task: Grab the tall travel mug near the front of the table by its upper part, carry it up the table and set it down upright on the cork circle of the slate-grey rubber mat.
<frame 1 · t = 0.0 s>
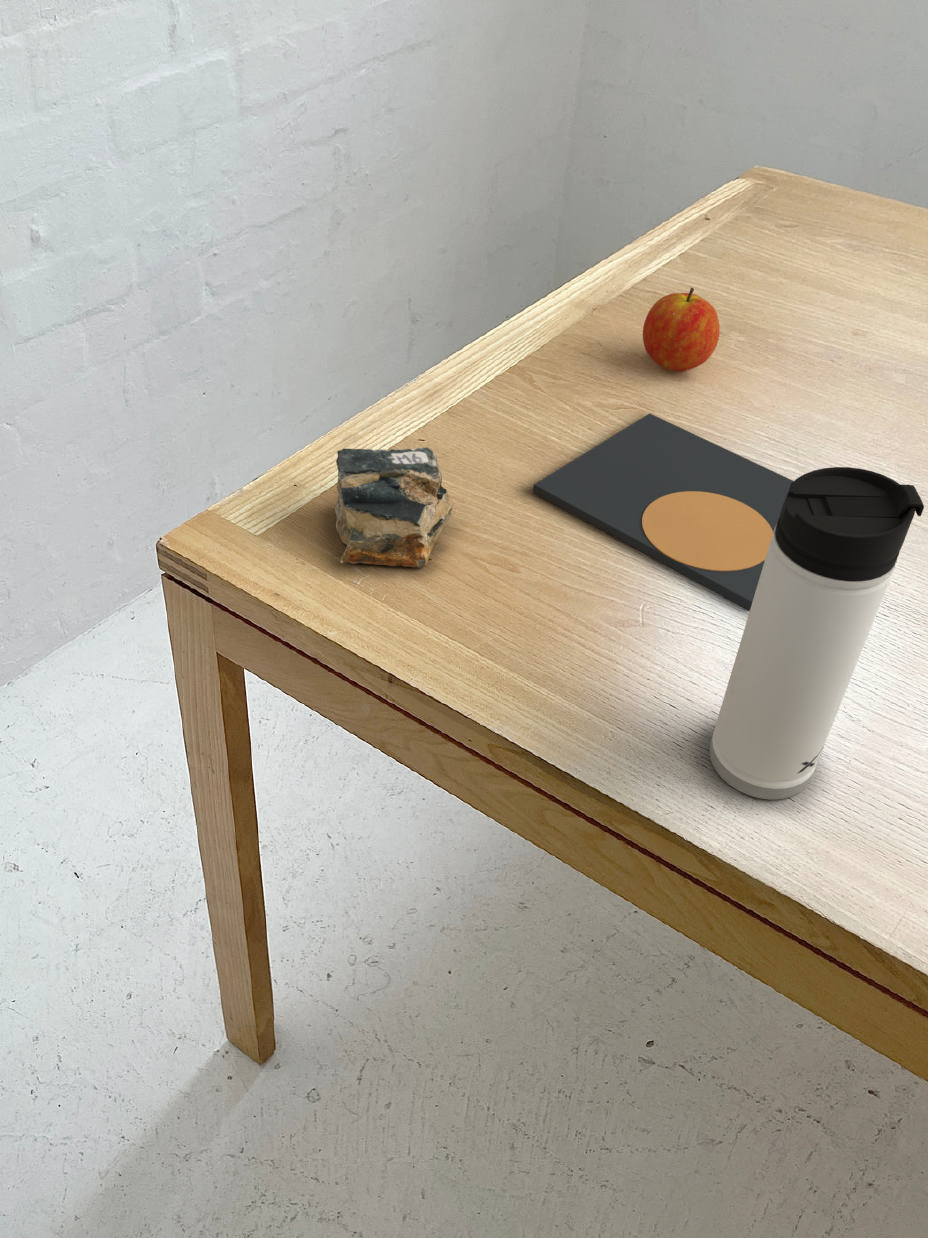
travel mug: (761, 764, 69), on the table
rock: (389, 535, 84), on the table
fruit: (673, 368, 107), on the table
mat: (694, 506, 89), on the table
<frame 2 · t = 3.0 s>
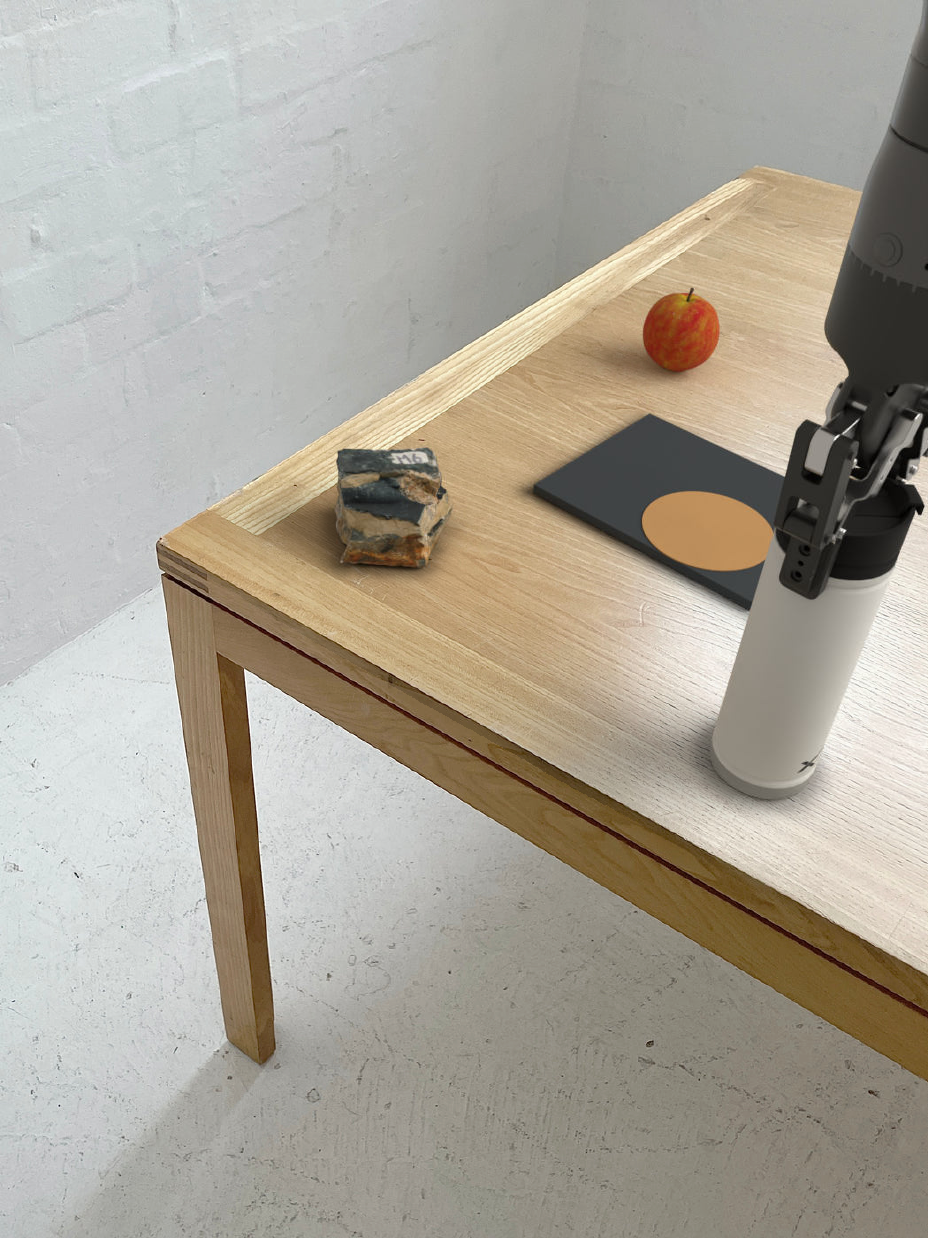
hand: (832, 559, 59), 16 cm above the table, tool pointing down, fingers closed on travel mug, 6 cm apart
travel mug: (761, 764, 69), on the table, touching gripper
everything else where it was.
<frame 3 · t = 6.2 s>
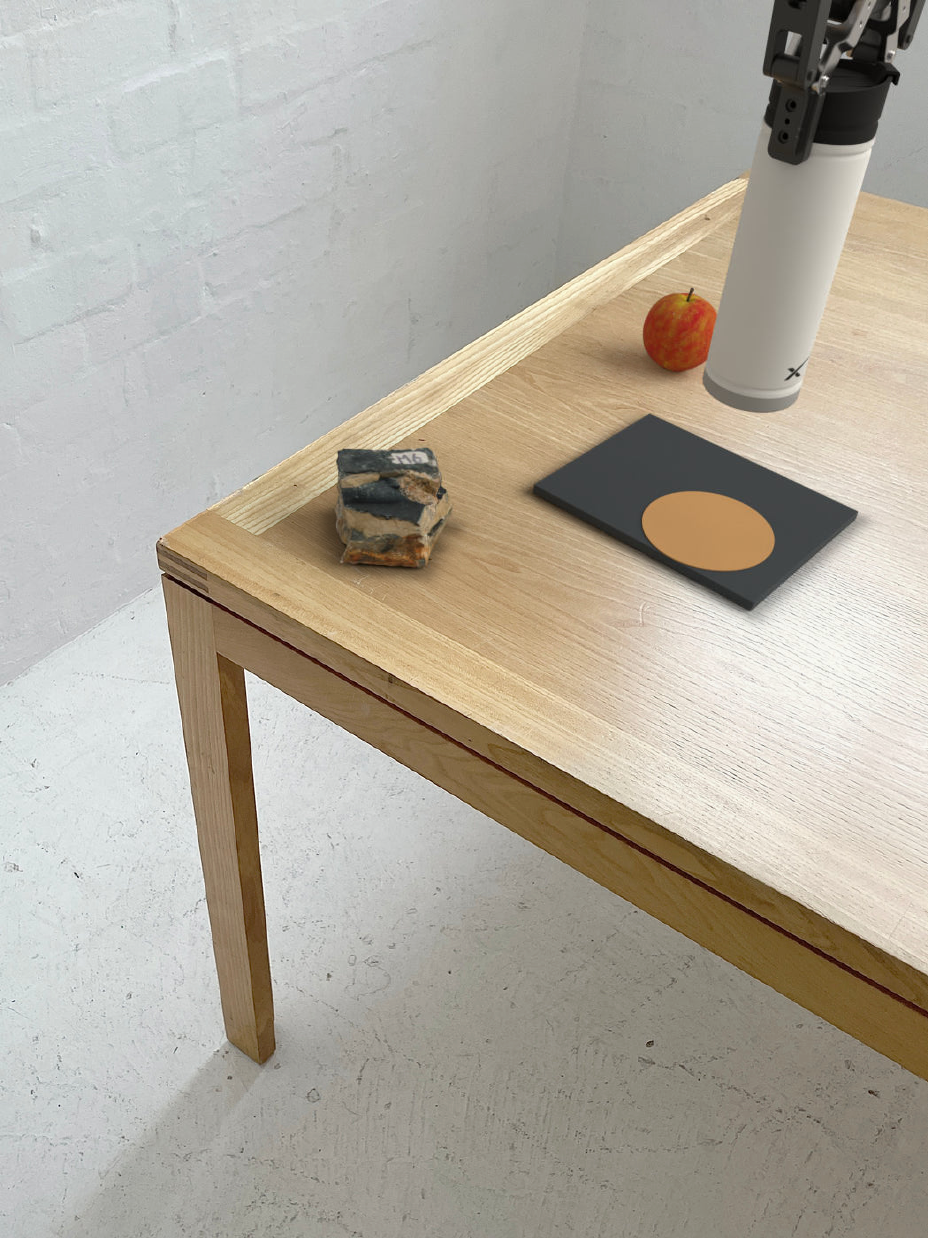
hand: (816, 145, 64), 30 cm above the table, tool pointing down, fingers closed on travel mug, 6 cm apart
travel mug: (751, 392, 74), point 14 cm above the table, touching gripper
everything else where it was.
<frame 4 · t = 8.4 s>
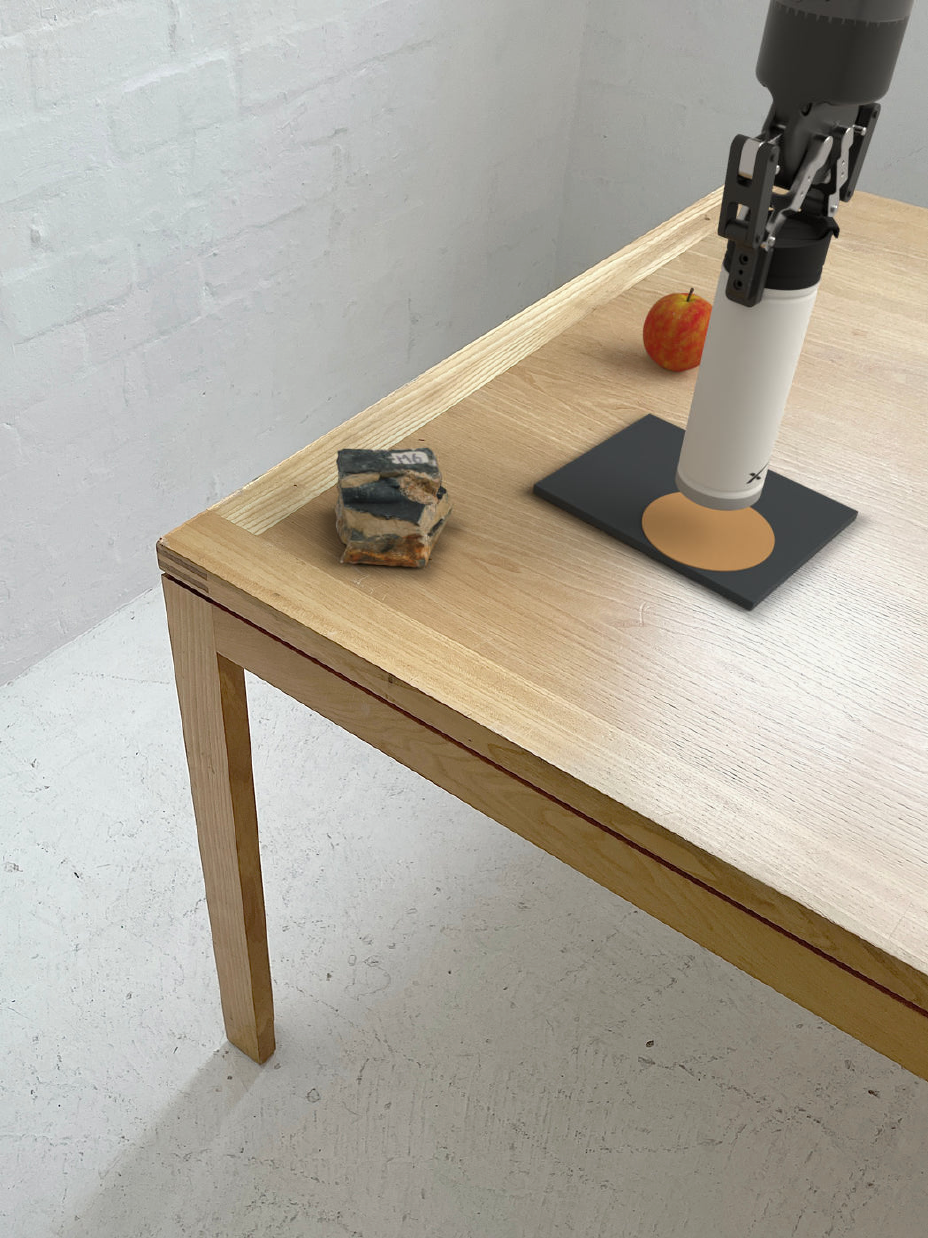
hand: (769, 285, 73), 20 cm above the table, tool pointing down, fingers closed on travel mug, 6 cm apart
travel mug: (718, 490, 83), point 5 cm above the table, touching gripper
everything else where it was.
when the fingers open (17 cm above the table, at t = 10.0 s): travel mug stays where it is, resting on mat.
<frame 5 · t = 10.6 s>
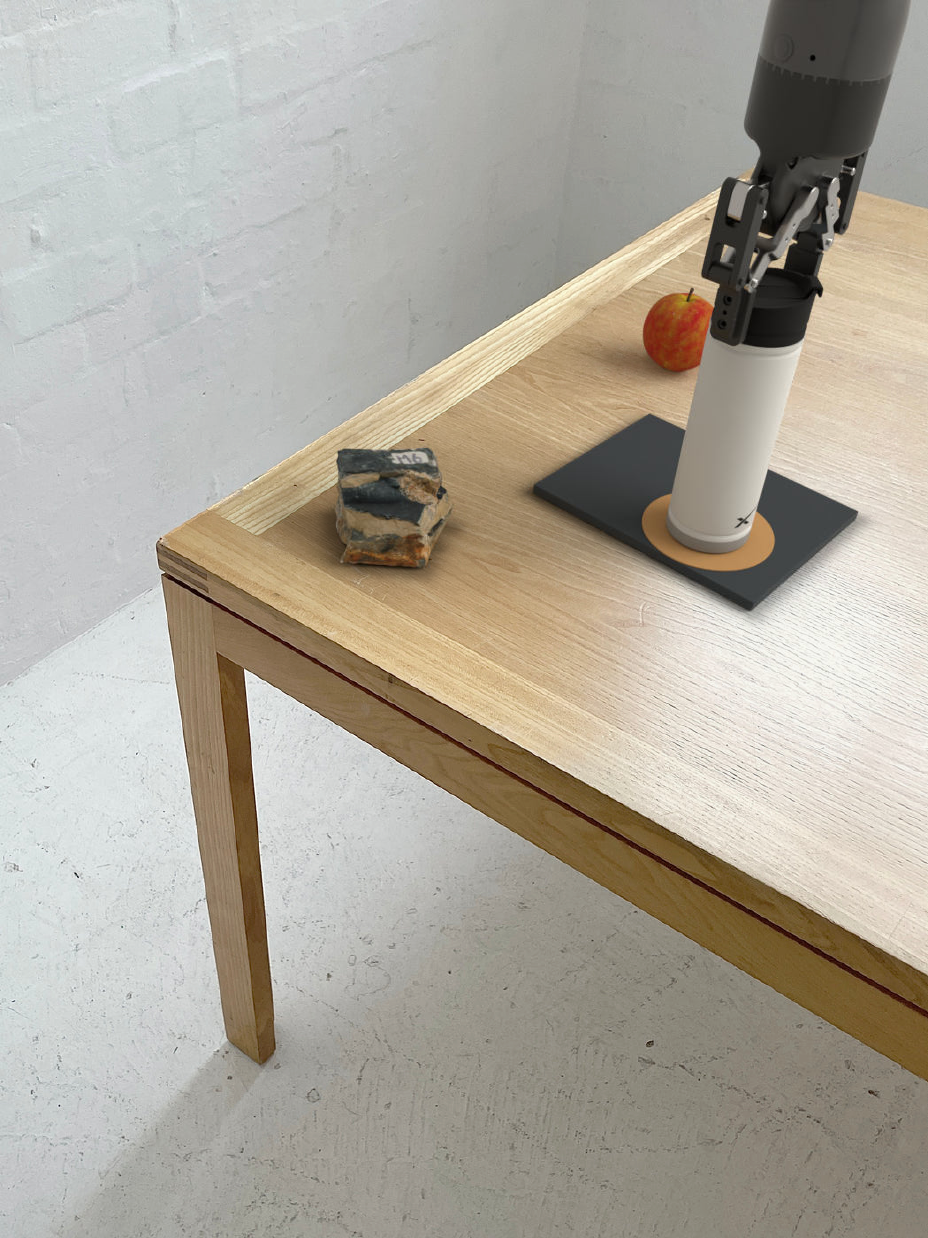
hand: (760, 320, 74), 18 cm above the table, tool pointing down, fingers open, 8 cm apart
travel mug: (708, 532, 85), point 1 cm above the table, touching mat
everything else where it was.
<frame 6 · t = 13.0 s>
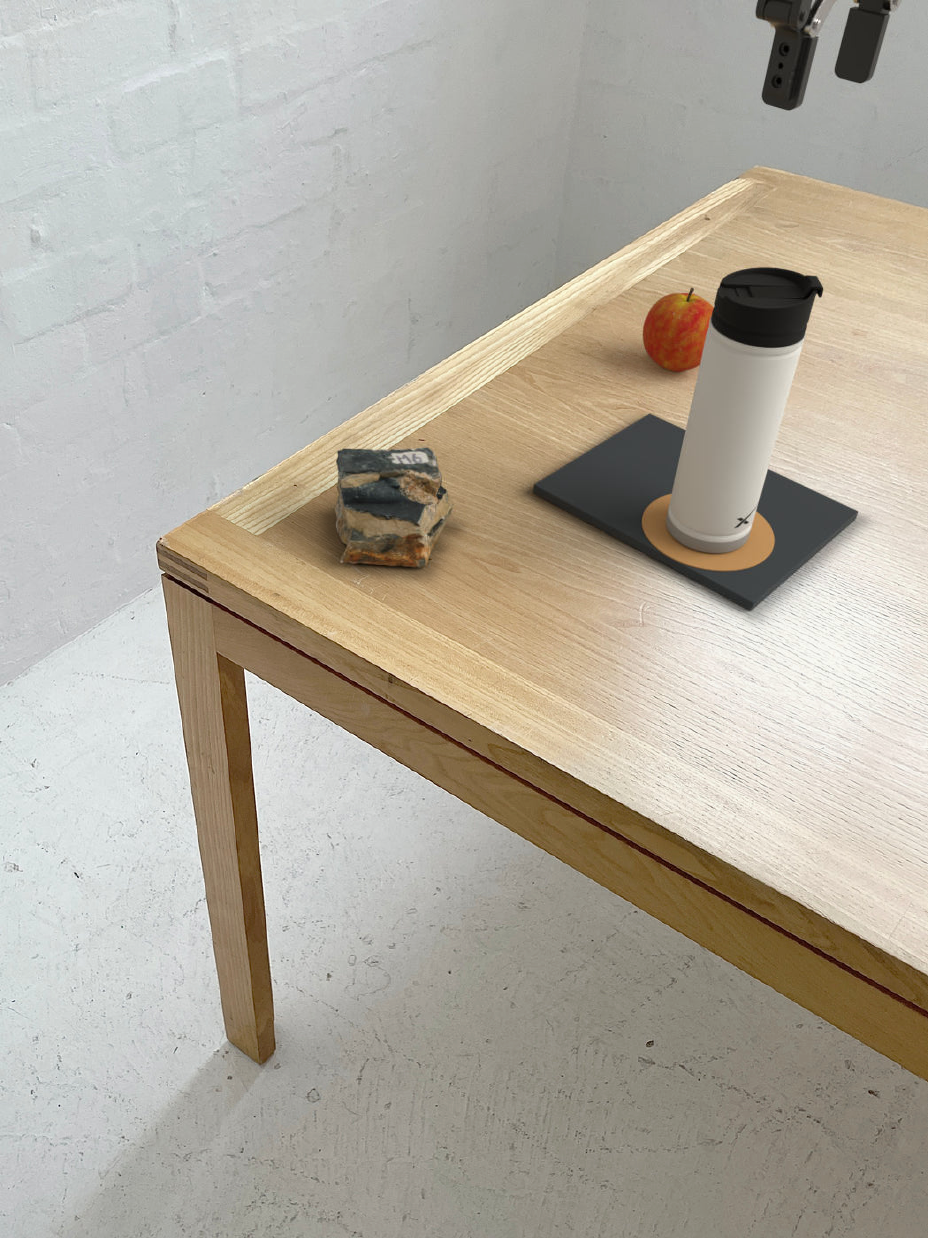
hand: (817, 92, 65), 32 cm above the table, tool pointing down, fingers open, 8 cm apart
nothing on the table moved.
at the end: travel mug inside the target area on the mat (4.4 cm from its centre), point 0.7 cm above the mat's base; travel mug tilted 0°; the gripper is holding nothing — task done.
